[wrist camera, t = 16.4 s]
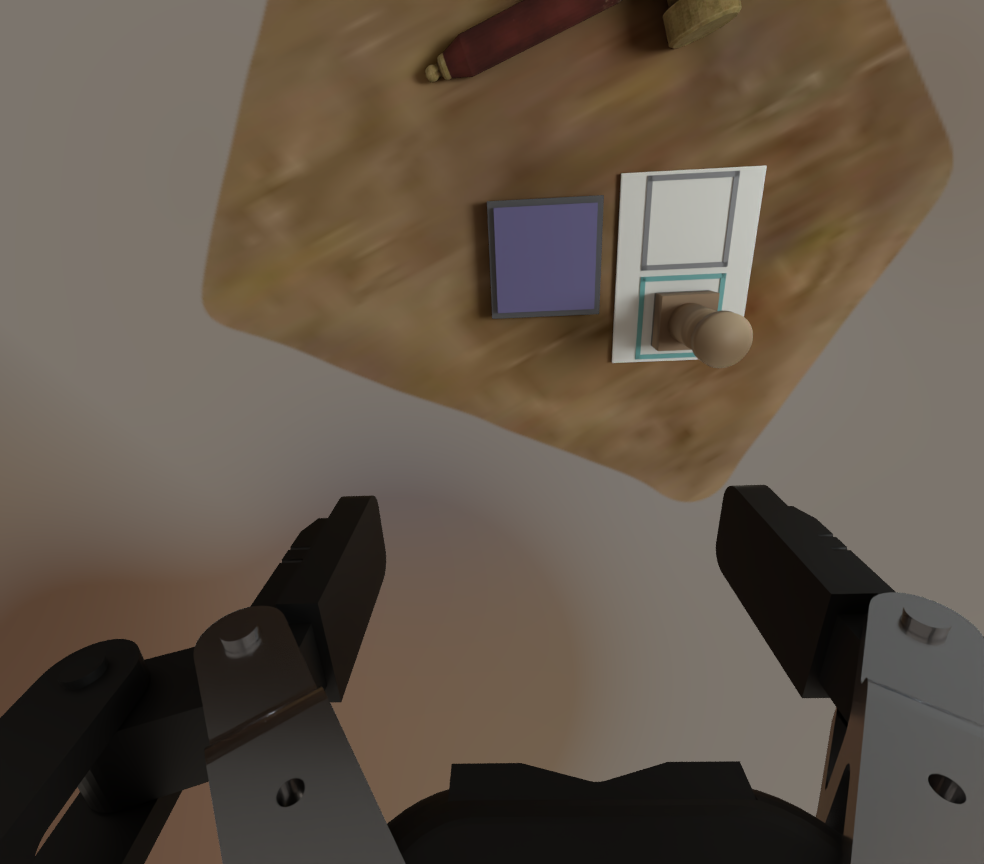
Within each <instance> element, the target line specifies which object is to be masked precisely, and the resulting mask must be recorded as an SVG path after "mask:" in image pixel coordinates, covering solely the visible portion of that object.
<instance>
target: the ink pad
mask: <svg viewBox="0 0 984 864" xmlns="http://www.w3.org/2000/svg"><path fill="white" fill-rule="evenodd" d="M603 199H604V195H600V196H581V197H562V198H543V199H524V200H505V201H487V213H488V235H489V257H490V279H491V300H492V319H497V318H520V317H543V316H566V315H589V314H599V304H600V278H601V252H602V225H603Z"/></svg>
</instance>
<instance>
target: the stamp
mask: <svg viewBox="0 0 984 864" xmlns="http://www.w3.org/2000/svg"><path fill="white" fill-rule="evenodd" d="M719 295H720V293H717V292H714V291H711V290H699V291H679V292H658V293H655V296H654V309H653V322H652V335H651V346H652V347H653V348H654V349H656V350H657V351H676V350H692V351H693V353H694V355H695V356H696V357H697V358H698V359H699V360H700V361H702V362H703V363H705V364H706V365H708V366H710V367H714V368H725V367H729V366H732V365H734V364H736V363H737V362H739V361H740V360H741V359H742V358H743V357H744V356H745V355H746V354H747V352H748V351H749V349H750V347H751V344H752V340H753V331H752V327H751V325H750V323H749V322H748V321H747V320H746V319H745V318H744V317H743V316H741V315H739V314H736V313H733V312H730V311H718V303H719Z"/></svg>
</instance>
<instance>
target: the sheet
mask: <svg viewBox="0 0 984 864" xmlns="http://www.w3.org/2000/svg"><path fill="white" fill-rule="evenodd" d="M766 168H767V166H750V167H732V168H713V169H695V170H677V171H659V172H640V173H622V174H621V182H620V202H619V222H618V242H617V263H616V283H615V303H614V323H613V343H612V363H621V362H647V361H672V360H697V359H698V358H697V357H696V356H695V355H694V353H693V351H692V350H676V351H657V350H656V349H654V348H653V347H652V346H651V335H652V322H653V309H654V296H655V293H658V292H679V291H699V290H711V291H714V292H717V293H720V295H719V303H718V311H730V312H733V313H736V314H739V315H741V316H743V317H744V313H745V306H746V299H747V293H748V286H749V280H750V273H751V266H752V260H753V253H754V247H755V240H756V234H757V227H758V220H759V214H760V207H761V201H762V194H763V187H764V181H765V174H766Z"/></svg>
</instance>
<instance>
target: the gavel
mask: <svg viewBox="0 0 984 864" xmlns="http://www.w3.org/2000/svg"><path fill="white" fill-rule="evenodd" d="M621 1H622V0H523V1H521V2H519V3H517V4H516V5H514V6H512V7H510V8H508V9H506V10H504V11H502V12H501V13H499V14H497V15H495V16H493V17H491V18H489V19H487V20H485V21H484V22H482V23H480V24H478V25H476V26H474V27H472V28H470V29H469V30H467V31H465V32H463V33H461V34H459V35H458V36H457V37H456V38H455V39H454V41H453V42H452V43H451V44H450V45H449V46H448V47H447V49H446V50H445V51H444V52H443V53H442V54H440V55H439V56H438V57H437V64H435V65H429V66H428V67H427V68H426V70H425V72H426V77H427V79H428V80H429V81H430V82H435V81H437V80H438V79H439V77H441V76H443V77H444V78H445V79H446V80H449V79H451V78H461V77H473V76H475V75H477V74H479V73H481V72H483V71H485V70H487V69H489V68H491V67H493V66H495V65H497V64H499V63H501V62H503V61H505V60H507V59H509V58H511V57H513V56H515V55H517V54H519V53H521V52H523V51H525V50H526V49H528V48H530V47H532V46H534V45H536V44H538V43H540V42H542V41H544V40H546V39H548V38H550V37H552V36H554V35H556V34H558V33H560V32H562V31H564V30H566V29H568V28H570V27H572V26H574V25H576V24H578V23H580V22H582V21H584V20H586V19H588V18H590V17H592V16H594V15H596V14H598V13H600V12H602V11H604V10H605V9H607V8H609V7H611V6H613V5H615V4H617V3H619V2H621ZM667 2H668V6H669V9H668V10H667V11H666V12H665V13H664V15H663V21H664V26H665V31H666V35H667V40H668V45H669V47H670V48H680V47H683V46H685V45H688V44H690V43H692V42H694V41H696V40H698V39H701V38H703V37H705V36H707V35H709V34H710V33H712V32H714V31H716V30H717V29H719V28H721V27H722V26H724V25H725V24H727V23H728V22H730V21H731V20H732V19H733V18H735V17H736V16H737V14H738V13H739V11H740V10H741V8H742V6H741V0H667Z"/></svg>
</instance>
